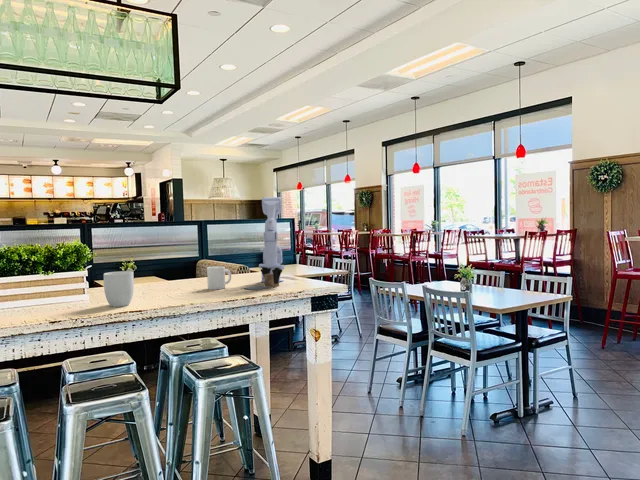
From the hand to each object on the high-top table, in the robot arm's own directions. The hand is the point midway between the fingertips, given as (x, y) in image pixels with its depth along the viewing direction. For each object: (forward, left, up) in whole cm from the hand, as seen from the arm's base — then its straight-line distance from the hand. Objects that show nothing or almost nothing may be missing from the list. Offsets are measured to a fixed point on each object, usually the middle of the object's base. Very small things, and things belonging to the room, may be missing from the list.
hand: (271, 283), depth 236 cm
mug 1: (-22, -67, -2) cm, 71 cm away
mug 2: (-19, -16, -2) cm, 25 cm away
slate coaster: (-2, -9, -1) cm, 9 cm away
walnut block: (0, 0, -1) cm, 1 cm away
